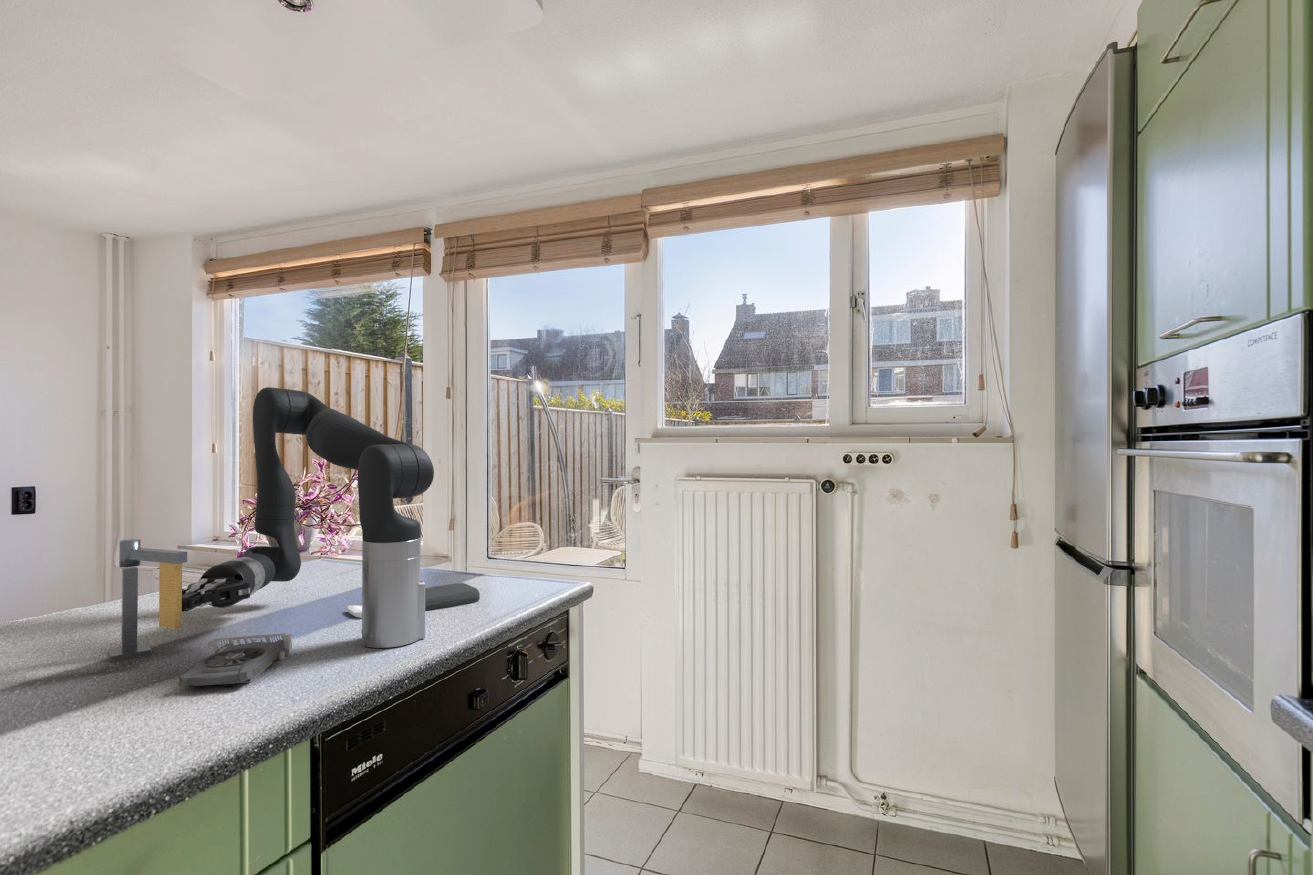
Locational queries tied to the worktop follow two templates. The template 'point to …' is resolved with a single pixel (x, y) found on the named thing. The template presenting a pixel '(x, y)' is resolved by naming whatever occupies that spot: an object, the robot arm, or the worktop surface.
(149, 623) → the worktop surface
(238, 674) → the graphics card
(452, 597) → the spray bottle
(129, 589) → the mast
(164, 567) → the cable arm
